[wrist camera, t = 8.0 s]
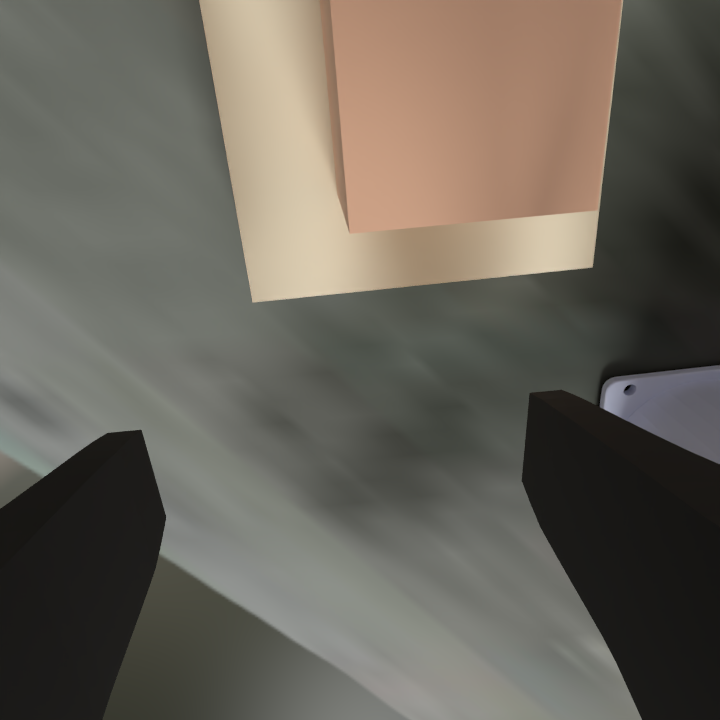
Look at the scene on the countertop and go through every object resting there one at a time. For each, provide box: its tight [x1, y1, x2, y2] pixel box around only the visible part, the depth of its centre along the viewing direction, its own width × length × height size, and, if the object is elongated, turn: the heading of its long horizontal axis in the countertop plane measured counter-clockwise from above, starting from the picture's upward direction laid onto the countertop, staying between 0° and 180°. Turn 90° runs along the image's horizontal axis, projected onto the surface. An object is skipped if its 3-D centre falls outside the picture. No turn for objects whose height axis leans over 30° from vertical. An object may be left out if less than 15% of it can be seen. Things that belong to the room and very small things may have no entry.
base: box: [199, 0, 623, 302], centre depth 15 cm, size 10×10×4 cm
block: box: [320, 0, 622, 234], centre depth 11 cm, size 5×5×5 cm
